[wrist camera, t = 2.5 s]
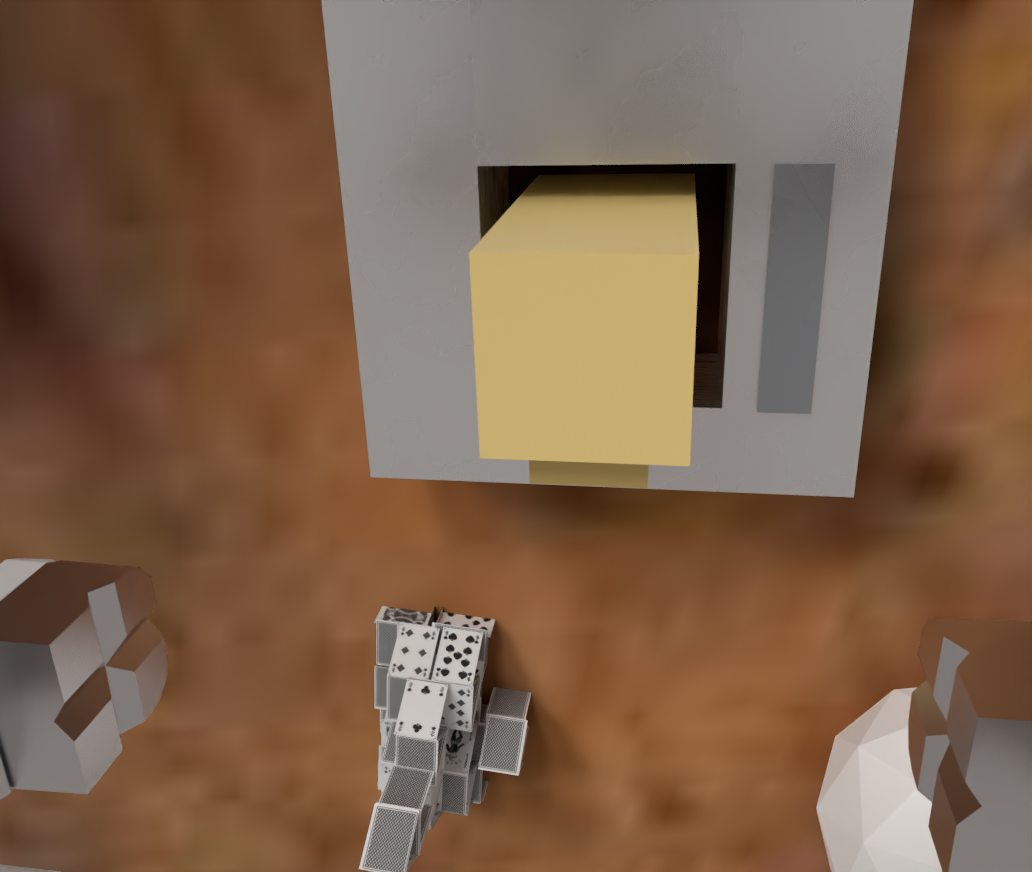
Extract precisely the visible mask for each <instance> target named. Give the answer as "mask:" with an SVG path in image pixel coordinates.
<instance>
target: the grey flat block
mask: <svg viewBox="0 0 1032 872" xmlns="http://www.w3.org/2000/svg"><path fill="white" fill-rule="evenodd" d="M321 1H322V11H323V21H324V30H325V40H326V50H327V59H328V69H329V79H330V88H331V98H332V108H333V117H334V127H335V137H336V147H337V156H338V166H339V176H340V185H341V195H342V205H343V214H344V224H345V234H346V243H347V253H348V263H349V272H350V282H351V292H352V301H353V311H354V321H355V330H356V340H357V350H358V359H359V369H360V379H361V388H362V398H363V408H364V418H365V427H366V437H367V447H368V456H369V466H370V476H371V477H378V478H402V479H426V480H450V481H474V482H498V483H522V484H531V483H530V478H529V460H511V459H485V458H480V452H479V433H478V414H477V395H476V376H475V357H474V338H473V318H472V299H471V280H470V261H469V253H470V251H471V250H472V249H473V248H474V247H475V246H476V245H477V244H478V242H479V241H480V240H481V239H482V238H483V237H484V236H485V235H486V233H487V232H488V231H489V230H490V229H491V228H492V227H493V226H494V224H495V223H496V222H497V221H498V220H499V219H500V218H501V217H502V215H503V214H504V213H505V212H506V211H507V210H508V209H509V180H508V166H536V165H629V164H722V163H727V174H726V192H725V211H724V230H723V249H722V267H721V286H720V305H719V324H718V342H717V353H695V360H694V383H693V406H692V429H691V452H690V466H668V465H649V474H648V487H647V488H641V489H665V490H689V491H712V492H736V493H760V494H784V495H808V496H832V497H854V491H855V483H856V474H857V466H858V458H859V450H860V441H861V433H862V425H863V416H864V408H865V400H866V392H867V383H868V375H869V367H870V358H871V350H872V342H873V334H874V325H875V317H876V309H877V300H878V292H879V284H880V276H881V267H882V259H883V251H884V242H885V234H886V226H887V218H888V209H889V201H890V193H891V184H892V176H893V168H894V159H895V151H896V143H897V135H898V126H899V118H900V110H901V101H902V93H903V85H904V77H905V68H906V60H907V52H908V43H909V35H910V27H911V19H912V10H913V2H914V0H321ZM545 485H554V484H545ZM569 486H578V485H569ZM593 487H602V486H593ZM617 488H626V487H617Z"/></svg>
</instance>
